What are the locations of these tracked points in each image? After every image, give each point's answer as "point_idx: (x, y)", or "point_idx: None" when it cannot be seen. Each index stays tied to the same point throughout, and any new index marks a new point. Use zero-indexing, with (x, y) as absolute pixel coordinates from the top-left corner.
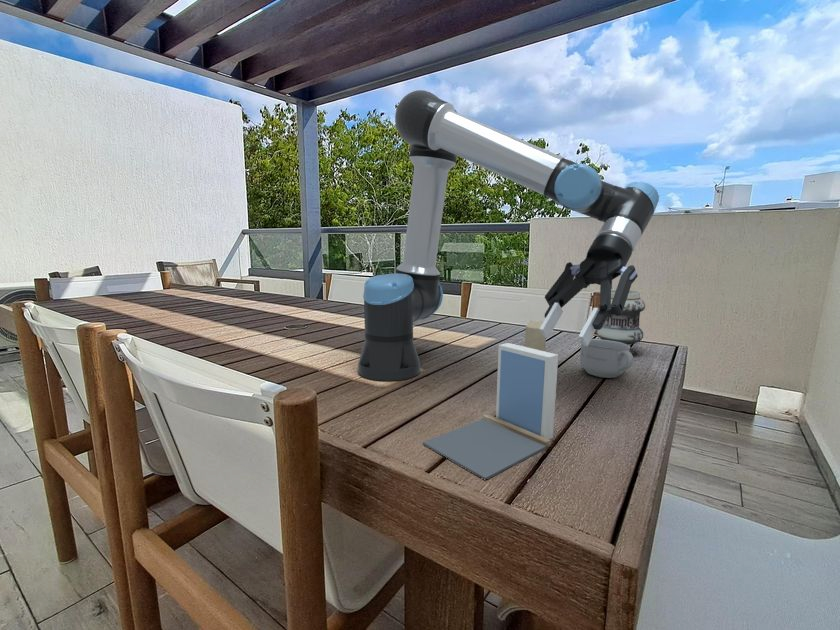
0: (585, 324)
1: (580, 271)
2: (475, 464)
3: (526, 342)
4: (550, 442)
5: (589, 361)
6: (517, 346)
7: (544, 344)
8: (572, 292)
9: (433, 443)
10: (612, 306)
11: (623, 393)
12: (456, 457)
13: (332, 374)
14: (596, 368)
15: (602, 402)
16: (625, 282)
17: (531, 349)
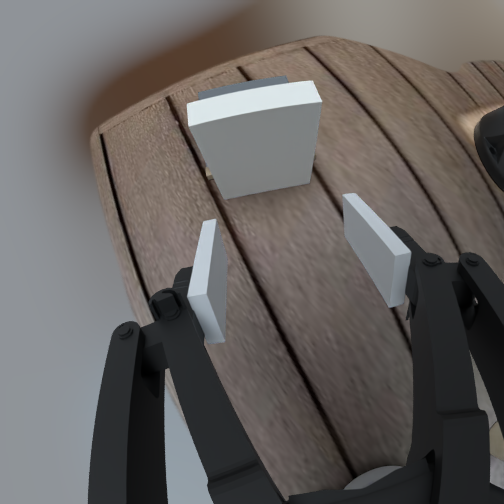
0: (211, 242)
1: (481, 455)
2: (220, 94)
3: None
4: (207, 177)
5: (387, 472)
6: (283, 98)
7: (498, 453)
8: (420, 363)
9: (278, 81)
10: (132, 322)
11: (287, 451)
12: (241, 86)
13: (496, 103)
14: (368, 473)
15: (278, 384)
16: (92, 461)
17: (248, 106)
